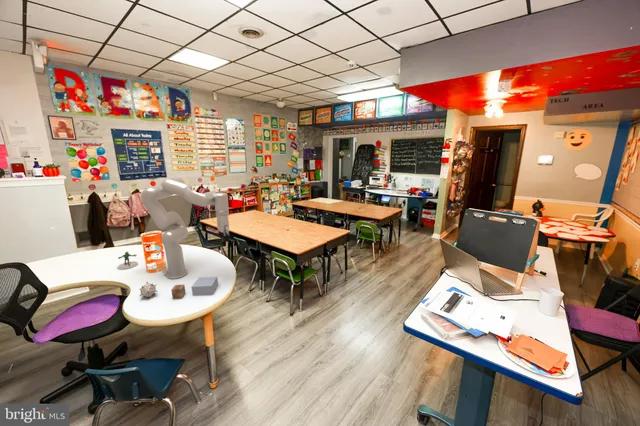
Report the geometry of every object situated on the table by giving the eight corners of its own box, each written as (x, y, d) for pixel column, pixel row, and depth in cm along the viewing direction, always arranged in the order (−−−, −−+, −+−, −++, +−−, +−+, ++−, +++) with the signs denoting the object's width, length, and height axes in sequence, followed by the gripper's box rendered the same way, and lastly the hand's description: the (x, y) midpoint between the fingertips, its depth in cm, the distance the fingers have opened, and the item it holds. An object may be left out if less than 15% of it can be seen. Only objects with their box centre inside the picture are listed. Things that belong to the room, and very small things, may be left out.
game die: (148, 300, 144) (146, 284, 147) (162, 295, 144) (159, 278, 147) (136, 302, 136) (133, 284, 139) (150, 296, 136) (147, 278, 139)
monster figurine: (139, 261, 188) (137, 248, 185) (136, 267, 177) (133, 254, 175) (120, 264, 183) (117, 251, 180) (115, 271, 172) (112, 257, 170)
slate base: (192, 296, 143) (191, 286, 142) (199, 286, 154) (198, 277, 152) (212, 295, 144) (211, 285, 143) (218, 285, 155) (217, 276, 153)
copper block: (172, 299, 140) (171, 289, 138) (176, 294, 145) (175, 284, 143) (182, 298, 140) (180, 289, 139) (185, 293, 145) (184, 284, 144)
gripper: (212, 211, 157) (214, 236, 161) (219, 216, 144) (222, 244, 148) (224, 209, 161) (226, 234, 166) (233, 215, 148) (235, 242, 152)
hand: (224, 239), depth 157 cm, fingers open, 9 cm apart
